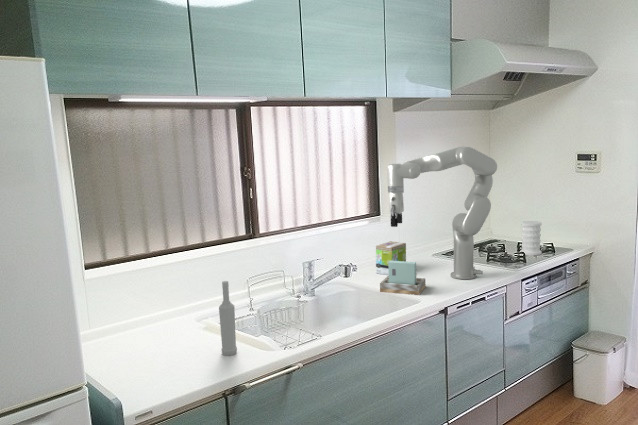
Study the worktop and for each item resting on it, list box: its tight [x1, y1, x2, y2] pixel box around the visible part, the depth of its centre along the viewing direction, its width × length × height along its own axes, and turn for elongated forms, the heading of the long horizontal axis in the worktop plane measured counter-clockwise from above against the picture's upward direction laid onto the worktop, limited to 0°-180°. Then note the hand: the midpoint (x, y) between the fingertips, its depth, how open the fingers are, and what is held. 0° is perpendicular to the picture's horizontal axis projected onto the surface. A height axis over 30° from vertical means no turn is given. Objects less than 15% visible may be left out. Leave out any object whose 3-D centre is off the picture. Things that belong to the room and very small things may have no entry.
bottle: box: [218, 280, 238, 357], centre depth 186 cm, size 5×5×25 cm
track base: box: [379, 275, 427, 296], centre depth 256 cm, size 18×14×4 cm
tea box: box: [375, 241, 407, 276], centre depth 288 cm, size 15×10×15 cm
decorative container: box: [519, 220, 543, 256], centre depth 318 cm, size 12×12×18 cm
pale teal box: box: [388, 260, 417, 285], centre depth 252 cm, size 12×4×12 cm, turn 67°
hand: (396, 224), depth 267 cm, fingers open, 9 cm apart
